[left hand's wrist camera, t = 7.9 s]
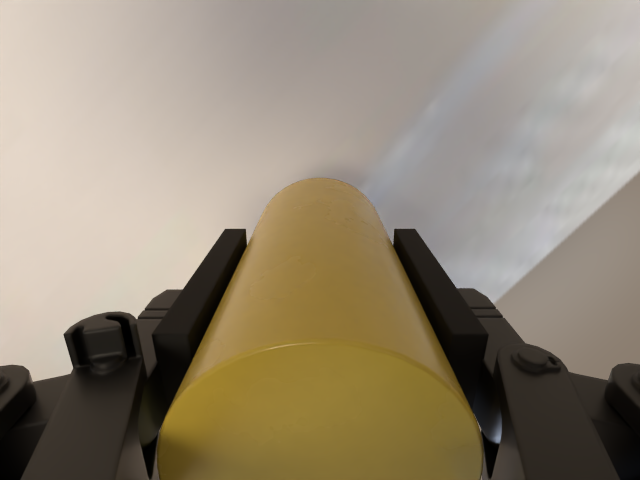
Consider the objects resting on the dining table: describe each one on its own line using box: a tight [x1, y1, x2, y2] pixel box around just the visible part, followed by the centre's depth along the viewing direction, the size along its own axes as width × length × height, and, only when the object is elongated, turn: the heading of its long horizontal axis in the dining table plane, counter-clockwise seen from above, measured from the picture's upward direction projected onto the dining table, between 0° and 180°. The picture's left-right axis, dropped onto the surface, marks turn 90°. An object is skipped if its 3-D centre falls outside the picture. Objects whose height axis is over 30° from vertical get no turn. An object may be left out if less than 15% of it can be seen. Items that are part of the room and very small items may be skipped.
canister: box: [157, 178, 484, 480], centre depth 11 cm, size 6×6×11 cm
